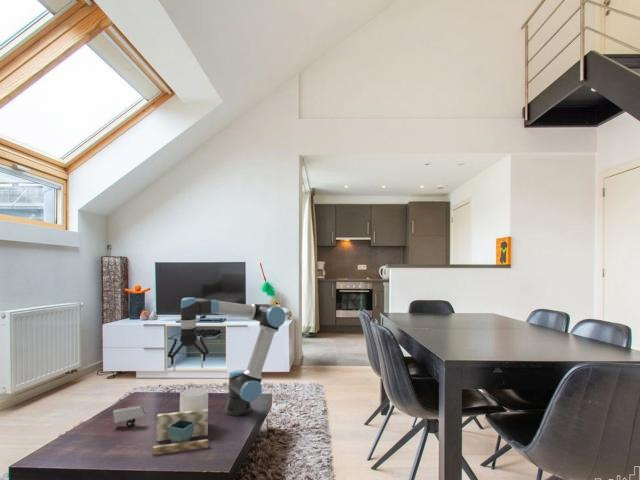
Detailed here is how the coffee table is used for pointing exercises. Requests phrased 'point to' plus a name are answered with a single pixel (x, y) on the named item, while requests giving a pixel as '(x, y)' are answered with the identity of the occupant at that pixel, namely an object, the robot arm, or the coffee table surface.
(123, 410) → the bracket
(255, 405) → the coffee table surface
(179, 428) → the flower pot
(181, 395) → the container
